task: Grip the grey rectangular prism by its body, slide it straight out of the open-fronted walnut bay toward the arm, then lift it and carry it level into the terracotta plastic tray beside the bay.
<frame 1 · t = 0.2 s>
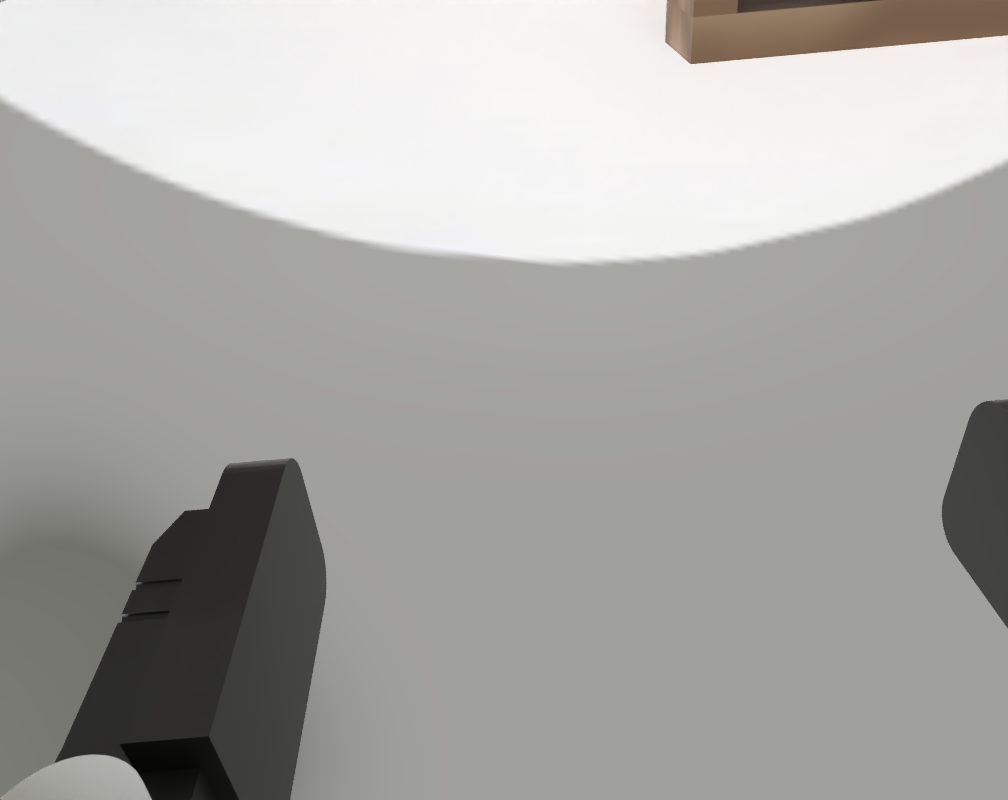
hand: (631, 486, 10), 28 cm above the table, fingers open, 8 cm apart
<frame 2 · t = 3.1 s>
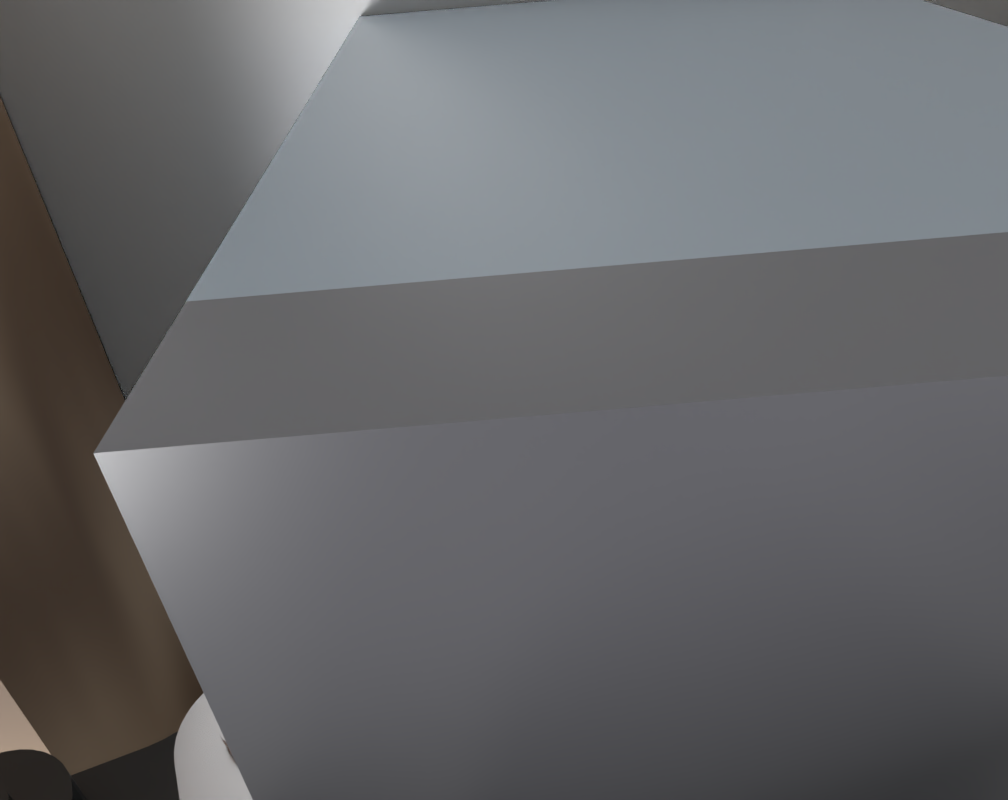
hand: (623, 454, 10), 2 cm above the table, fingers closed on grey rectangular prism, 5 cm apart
bay: (598, 399, 12), on the table
grey rectangular prism: (601, 368, 12), on the table, touching gripper
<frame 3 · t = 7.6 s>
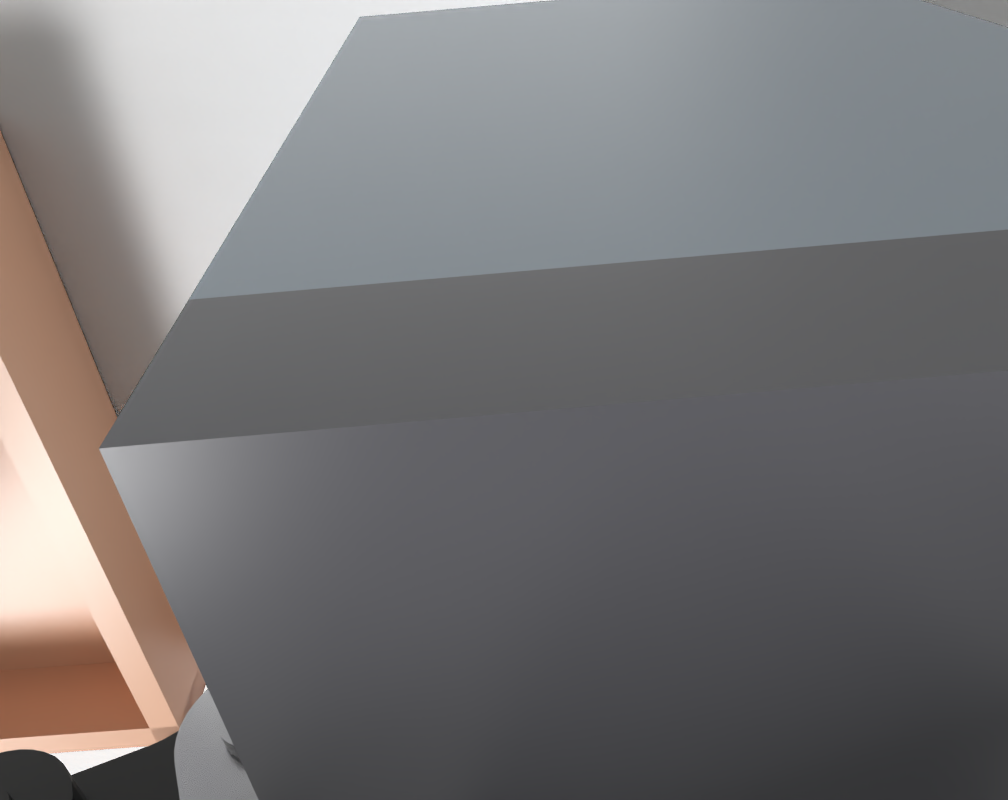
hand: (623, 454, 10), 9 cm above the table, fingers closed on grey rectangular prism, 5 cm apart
grey rectangular prism: (601, 367, 12), point 7 cm above the table, touching gripper
when the fingers open (4 cm above the table, at t = 12.1 s): grey rectangular prism drops 1 cm, resting on tray.
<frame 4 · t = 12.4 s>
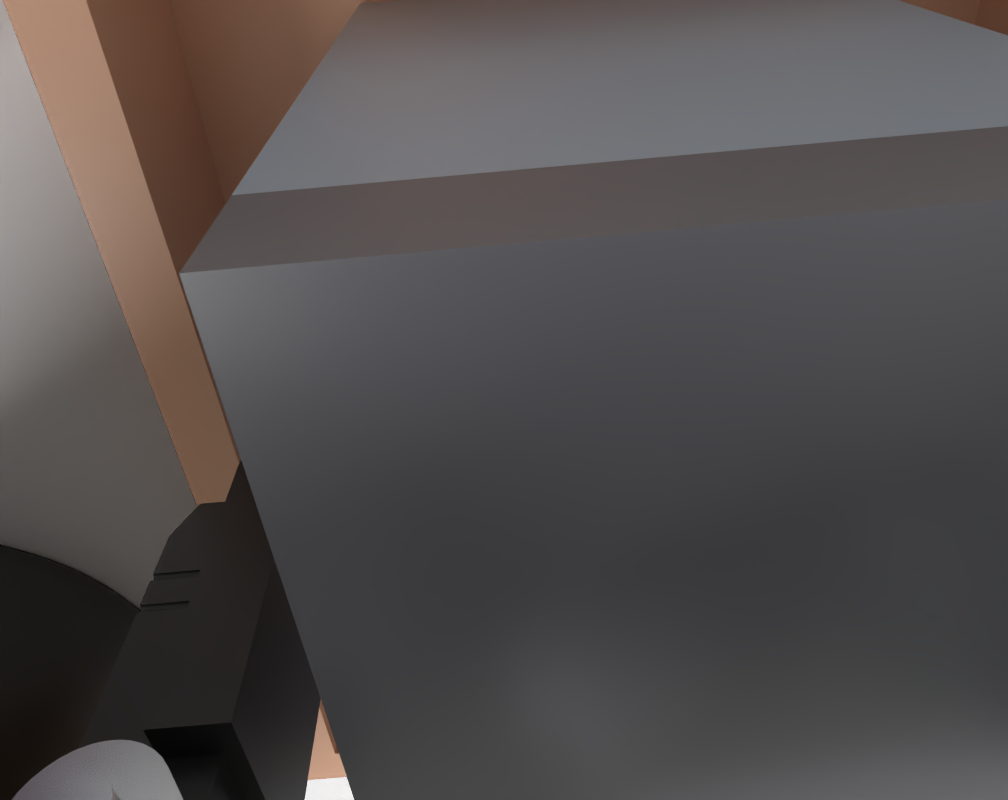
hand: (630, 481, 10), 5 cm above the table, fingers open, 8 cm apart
grey rectangular prism: (581, 326, 13), point 1 cm above the table, touching tray
tray: (582, 309, 13), on the table
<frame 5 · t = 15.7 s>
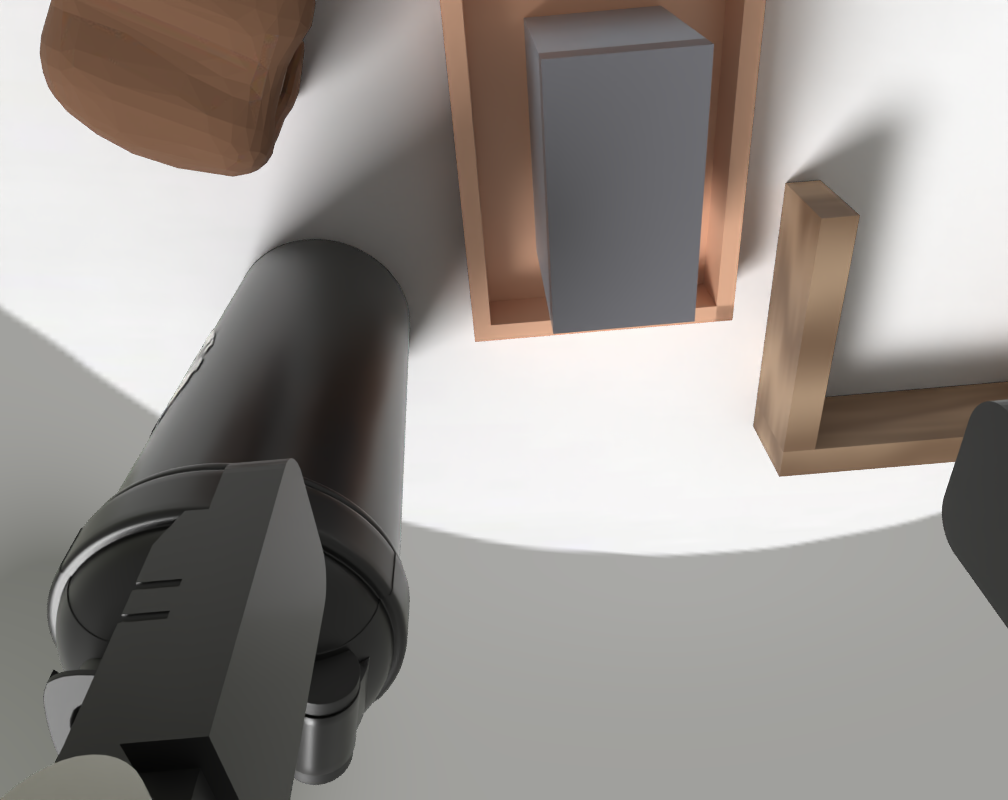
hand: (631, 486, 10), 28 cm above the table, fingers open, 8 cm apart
bay: (935, 302, 41), on the table
grey rectangular prism: (593, 137, 35), point 1 cm above the table, touching tray
water bottle: (325, 316, 40), on the table
tray: (593, 133, 35), on the table
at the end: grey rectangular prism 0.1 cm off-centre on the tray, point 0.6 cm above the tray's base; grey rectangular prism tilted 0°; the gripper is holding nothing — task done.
